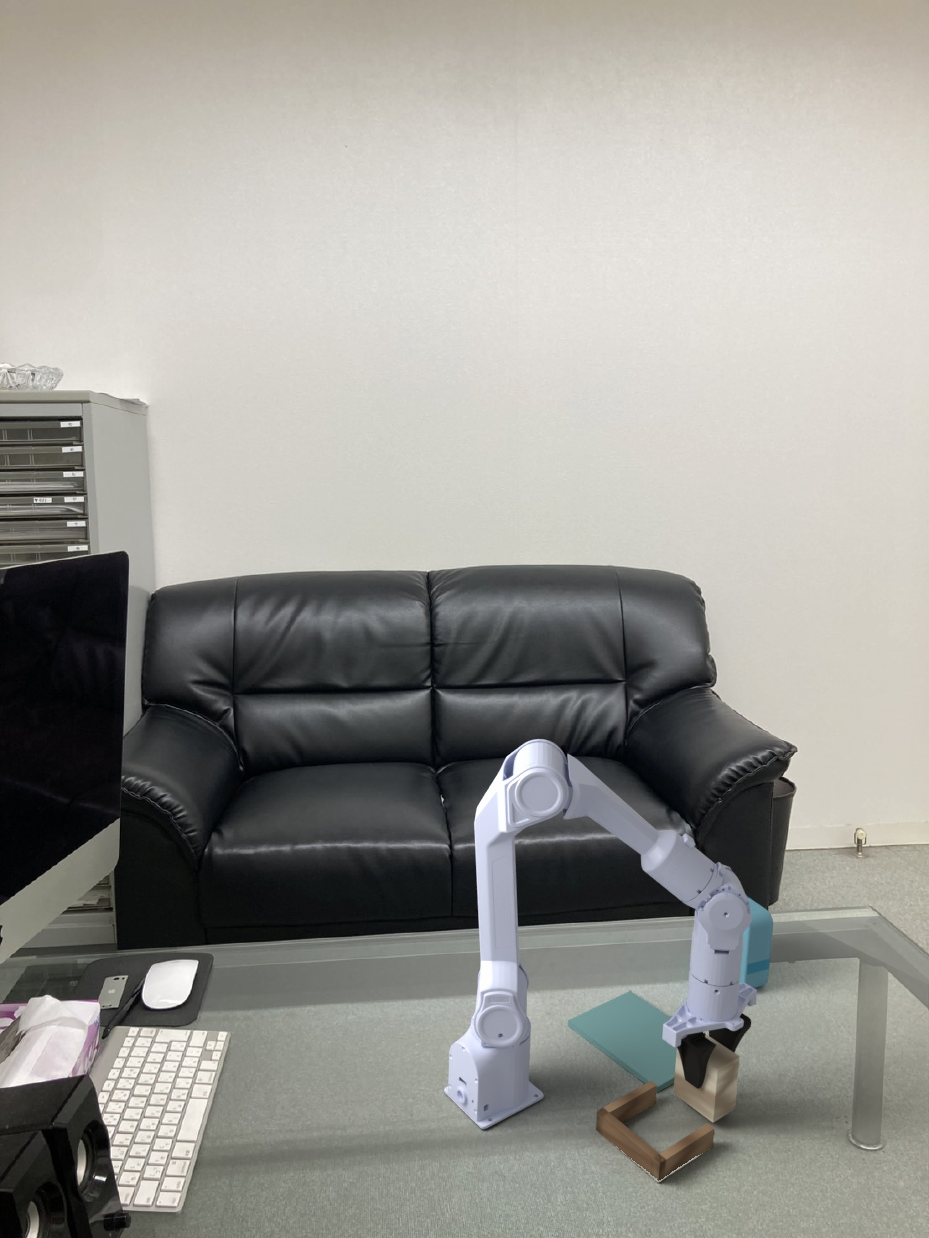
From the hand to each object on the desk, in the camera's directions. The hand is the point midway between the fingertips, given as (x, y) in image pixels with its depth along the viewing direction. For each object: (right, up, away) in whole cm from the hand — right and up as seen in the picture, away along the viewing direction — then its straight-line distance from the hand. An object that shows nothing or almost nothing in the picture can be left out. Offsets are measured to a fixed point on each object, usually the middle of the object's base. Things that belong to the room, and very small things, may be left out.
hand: (705, 1075), depth 112 cm
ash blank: (0, -3, +1) cm, 3 cm away
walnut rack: (-7, -5, -4) cm, 10 cm away
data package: (+11, +1, +30) cm, 32 cm away
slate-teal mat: (-5, -2, +13) cm, 14 cm away
